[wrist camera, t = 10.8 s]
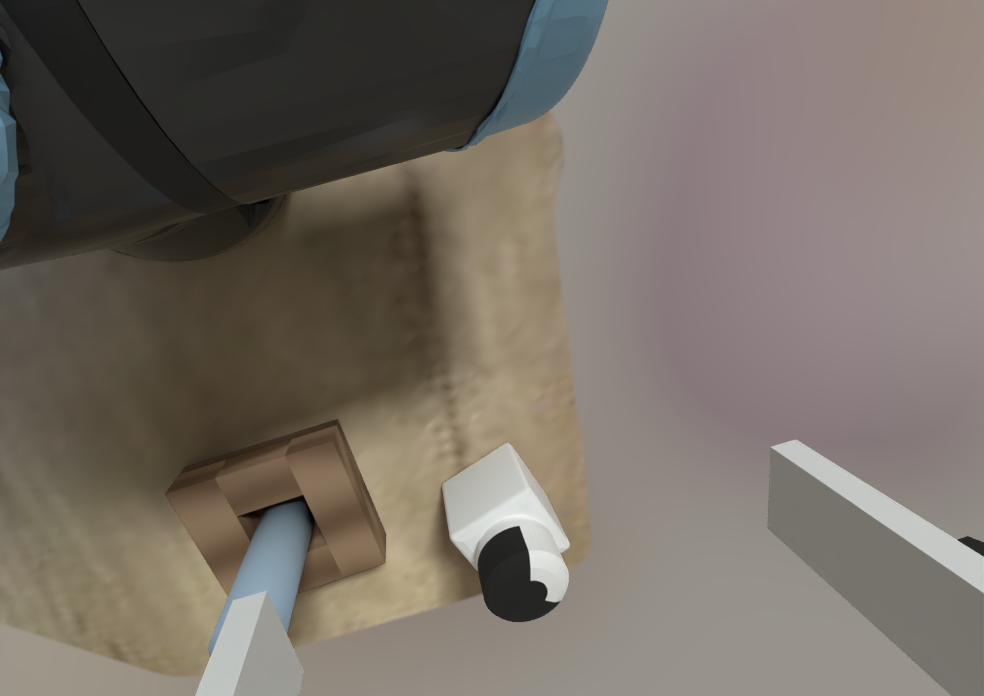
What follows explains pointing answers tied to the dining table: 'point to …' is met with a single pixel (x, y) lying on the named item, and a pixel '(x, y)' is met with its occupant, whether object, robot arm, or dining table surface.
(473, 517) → the medicine bottle
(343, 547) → the socket block
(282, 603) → the pin
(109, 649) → the dining table surface
